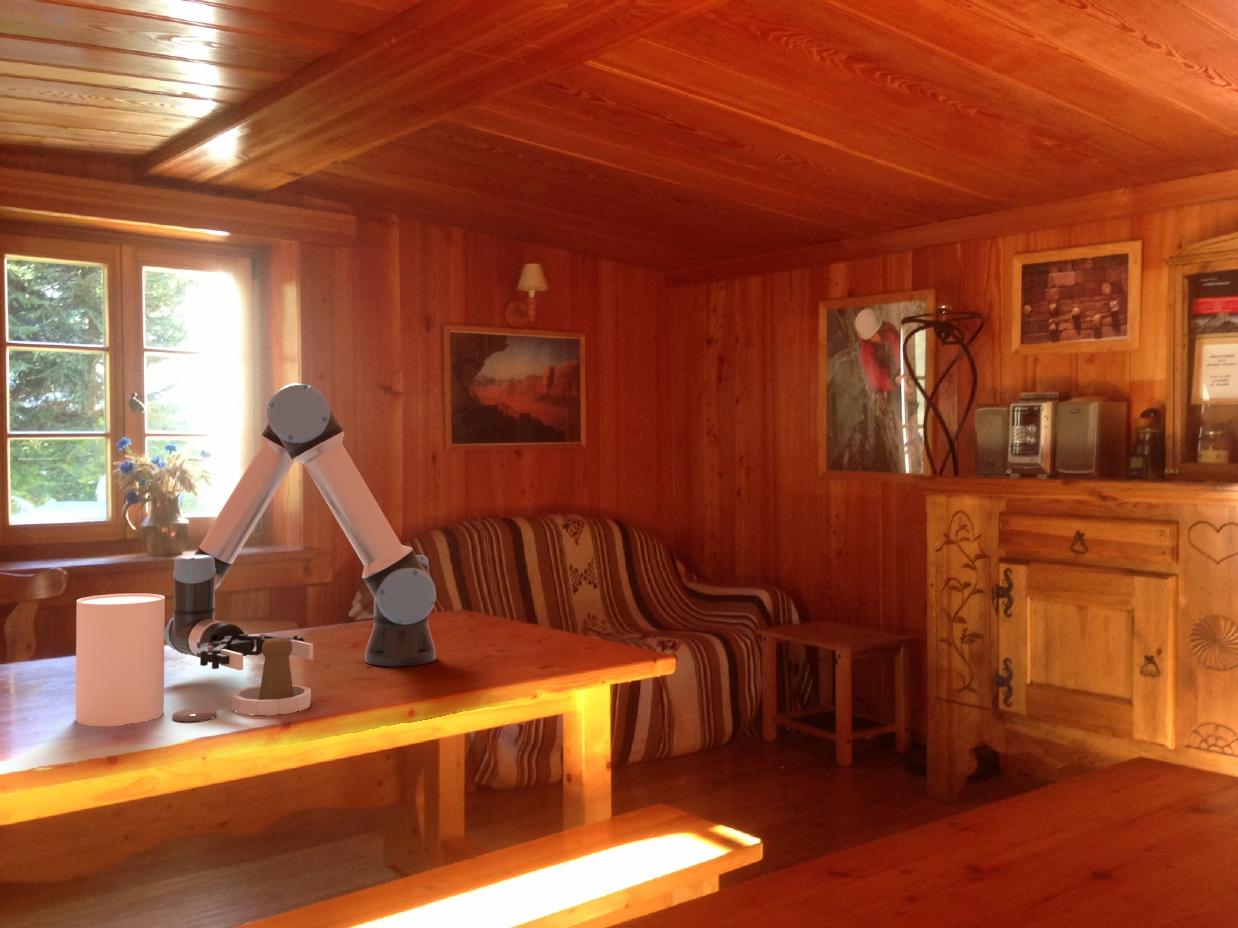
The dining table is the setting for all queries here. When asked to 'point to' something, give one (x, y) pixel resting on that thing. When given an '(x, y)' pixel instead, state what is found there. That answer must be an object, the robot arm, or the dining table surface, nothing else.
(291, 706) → the pink flat ring
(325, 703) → the dining table surface
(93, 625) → the canister
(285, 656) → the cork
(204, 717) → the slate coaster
